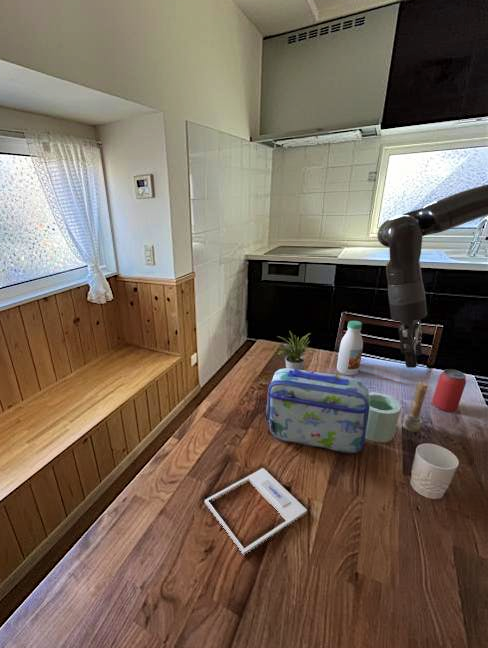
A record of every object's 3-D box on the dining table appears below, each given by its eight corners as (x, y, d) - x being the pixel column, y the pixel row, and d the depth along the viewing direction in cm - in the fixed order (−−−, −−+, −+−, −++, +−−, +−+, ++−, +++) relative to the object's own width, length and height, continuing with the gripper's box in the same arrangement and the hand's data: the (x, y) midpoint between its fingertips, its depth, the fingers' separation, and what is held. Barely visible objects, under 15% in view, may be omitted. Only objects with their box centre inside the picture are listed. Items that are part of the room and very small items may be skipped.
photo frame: (307, 509, 75) (243, 552, 67) (306, 513, 75) (243, 555, 68) (263, 467, 87) (204, 499, 79) (263, 470, 87) (204, 502, 79)
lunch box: (262, 439, 98) (264, 377, 89) (270, 417, 107) (273, 359, 98) (361, 464, 87) (375, 397, 79) (361, 437, 96) (373, 374, 87)
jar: (397, 428, 99) (404, 400, 95) (388, 447, 92) (396, 418, 88) (360, 415, 105) (366, 388, 101) (350, 432, 98) (355, 404, 94)
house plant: (289, 359, 140) (292, 323, 133) (320, 371, 130) (325, 332, 123) (268, 371, 132) (270, 333, 125) (299, 385, 122) (302, 345, 115)
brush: (421, 425, 99) (433, 382, 93) (418, 434, 96) (431, 390, 90) (404, 420, 102) (415, 377, 96) (400, 427, 99) (412, 384, 93)
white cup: (402, 488, 80) (411, 456, 76) (412, 469, 85) (421, 438, 81) (442, 508, 75) (454, 475, 71) (450, 486, 80) (462, 454, 75)
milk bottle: (338, 375, 127) (345, 326, 118) (335, 365, 133) (341, 318, 125) (360, 376, 125) (369, 327, 116) (356, 366, 132) (364, 319, 123)
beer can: (460, 414, 103) (471, 380, 98) (435, 410, 105) (445, 377, 100) (452, 401, 108) (463, 369, 103) (428, 398, 110) (438, 367, 106)
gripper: (420, 304, 75) (428, 372, 78) (429, 291, 85) (435, 351, 88) (383, 308, 80) (391, 371, 83) (395, 294, 90) (402, 351, 93)
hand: (414, 360), depth 86 cm, fingers open, 8 cm apart
